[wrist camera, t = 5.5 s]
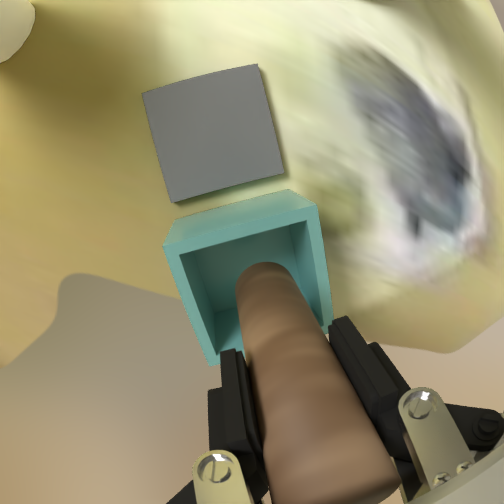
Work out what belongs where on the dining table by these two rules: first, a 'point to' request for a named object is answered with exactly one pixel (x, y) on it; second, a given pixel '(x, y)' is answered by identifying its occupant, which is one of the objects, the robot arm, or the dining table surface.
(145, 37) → the dining table surface
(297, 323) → the dowel
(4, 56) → the foam cup
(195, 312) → the teal open box
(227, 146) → the coaster
